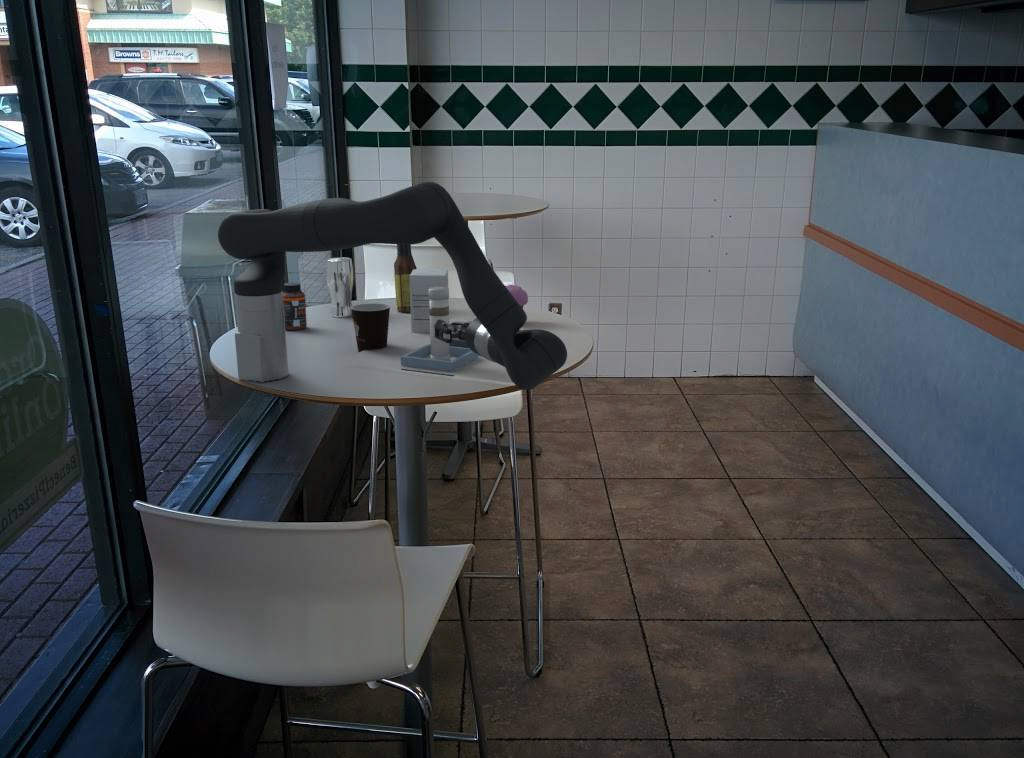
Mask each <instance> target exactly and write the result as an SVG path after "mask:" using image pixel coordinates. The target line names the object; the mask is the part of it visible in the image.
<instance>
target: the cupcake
mask: <svg viewBox="0 0 1024 758" xmlns="http://www.w3.org/2000/svg"><path fill="white" fill-rule="evenodd" d="M505 286H506V288H507V289H508V290H509V292H510V293H511V294H512V295H513V297H514V298H515V299H516V301H517V302H518V304H519V305H520V306H521V307H522V308H523V309H524V307H525V305H527V303H528V302H529V296H528V293H527V291H526V290H524V289H523V288H522V287H521V286H520V285H514V284H508V285H505Z"/></svg>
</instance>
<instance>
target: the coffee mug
mask: <svg viewBox="0 0 1024 758" xmlns="http://www.w3.org/2000/svg"><path fill="white" fill-rule="evenodd" d="M390 311H391V306H390V305H389V304H385V303H378V302H377V303H376V302H375V303H372V302H370V303H360V304H359V303H358V304H354V305H352V307H351V312H352V316H351V317H352V322H353V329H354V335H355V341H356V347H357V351H358V353H361V352H363V351H375V350H376V351H377V350H382V349H385V348H387V347H388V337H389V336H388V334H389V326H390V325H389V324H390Z"/></svg>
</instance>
